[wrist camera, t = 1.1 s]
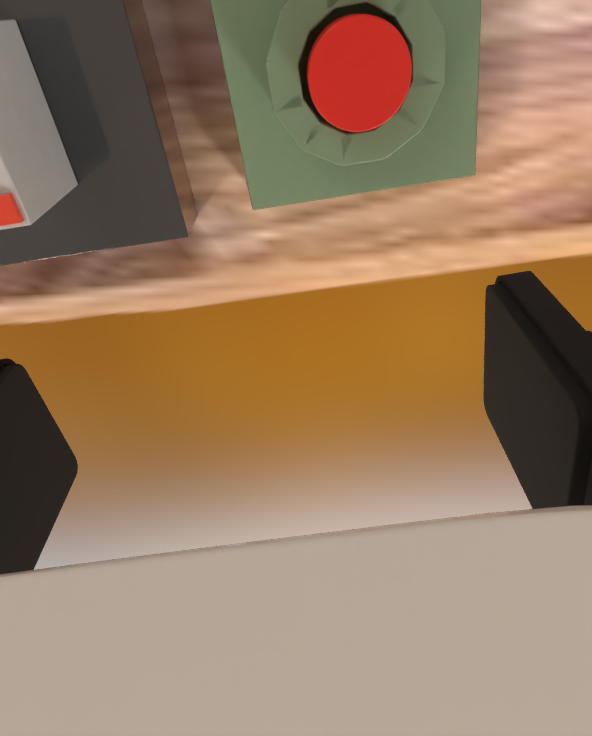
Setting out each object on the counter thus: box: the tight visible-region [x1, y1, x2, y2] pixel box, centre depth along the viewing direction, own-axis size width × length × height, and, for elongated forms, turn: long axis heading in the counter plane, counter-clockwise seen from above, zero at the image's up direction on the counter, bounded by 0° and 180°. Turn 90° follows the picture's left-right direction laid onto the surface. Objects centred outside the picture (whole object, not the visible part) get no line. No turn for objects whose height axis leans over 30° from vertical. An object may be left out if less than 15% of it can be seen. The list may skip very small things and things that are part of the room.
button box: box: [210, 0, 481, 210], centre depth 21 cm, size 10×10×4 cm
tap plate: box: [0, 0, 198, 266], centre depth 22 cm, size 12×10×3 cm
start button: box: [307, 13, 412, 132], centre depth 19 cm, size 4×4×2 cm
